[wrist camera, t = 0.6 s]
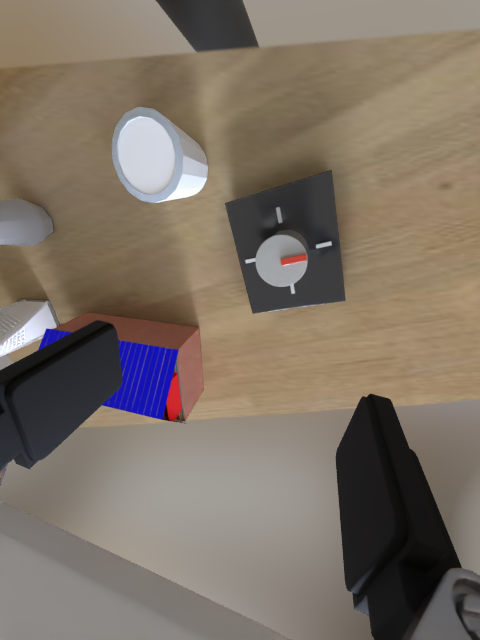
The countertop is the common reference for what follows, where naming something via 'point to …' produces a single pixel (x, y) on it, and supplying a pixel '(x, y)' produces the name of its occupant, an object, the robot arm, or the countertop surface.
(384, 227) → the countertop surface
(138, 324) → the house
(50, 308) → the skyscraper
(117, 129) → the shot glass
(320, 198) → the hob panel
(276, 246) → the hob knob
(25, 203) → the salt shaker
